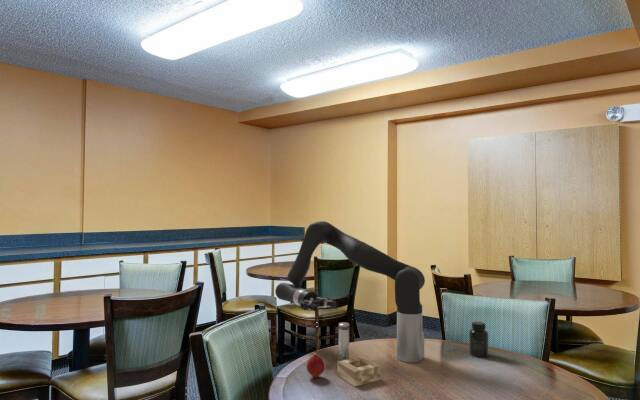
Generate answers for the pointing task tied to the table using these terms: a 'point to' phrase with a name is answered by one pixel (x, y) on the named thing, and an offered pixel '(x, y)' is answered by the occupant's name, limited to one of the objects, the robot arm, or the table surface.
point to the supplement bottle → (478, 340)
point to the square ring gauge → (358, 371)
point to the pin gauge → (343, 341)
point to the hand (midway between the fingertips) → (326, 307)
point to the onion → (315, 365)
